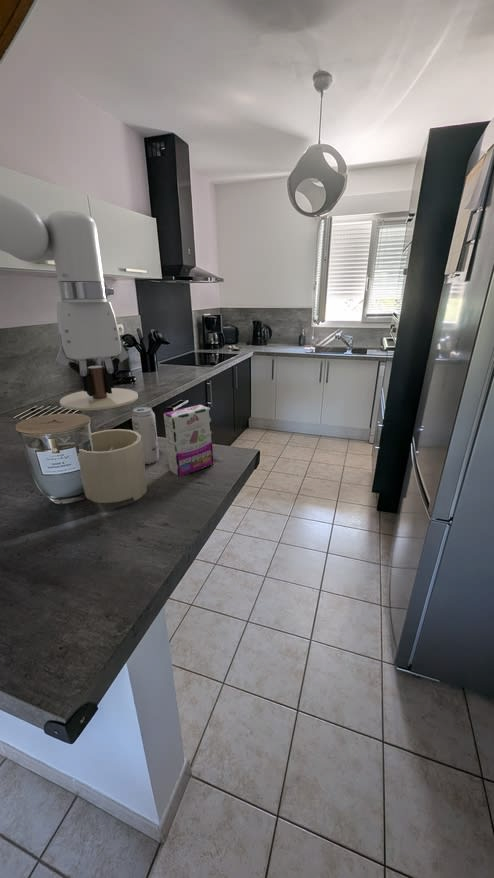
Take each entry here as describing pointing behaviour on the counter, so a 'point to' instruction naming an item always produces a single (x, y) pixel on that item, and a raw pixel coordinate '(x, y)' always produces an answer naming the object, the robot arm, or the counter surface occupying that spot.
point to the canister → (113, 467)
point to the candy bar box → (189, 439)
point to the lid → (98, 394)
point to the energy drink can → (146, 432)
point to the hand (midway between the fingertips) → (99, 392)
